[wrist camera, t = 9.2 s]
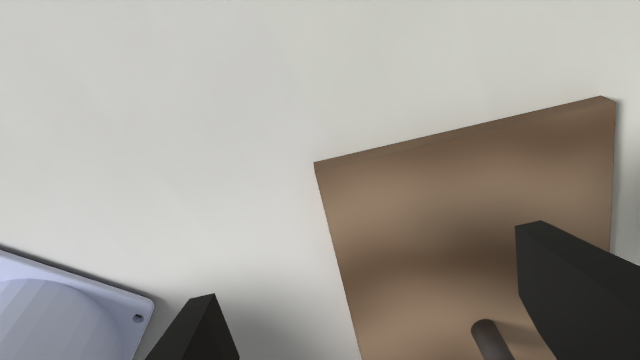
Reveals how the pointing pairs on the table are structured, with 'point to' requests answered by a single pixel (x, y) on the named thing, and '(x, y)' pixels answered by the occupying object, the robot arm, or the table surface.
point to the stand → (463, 228)
